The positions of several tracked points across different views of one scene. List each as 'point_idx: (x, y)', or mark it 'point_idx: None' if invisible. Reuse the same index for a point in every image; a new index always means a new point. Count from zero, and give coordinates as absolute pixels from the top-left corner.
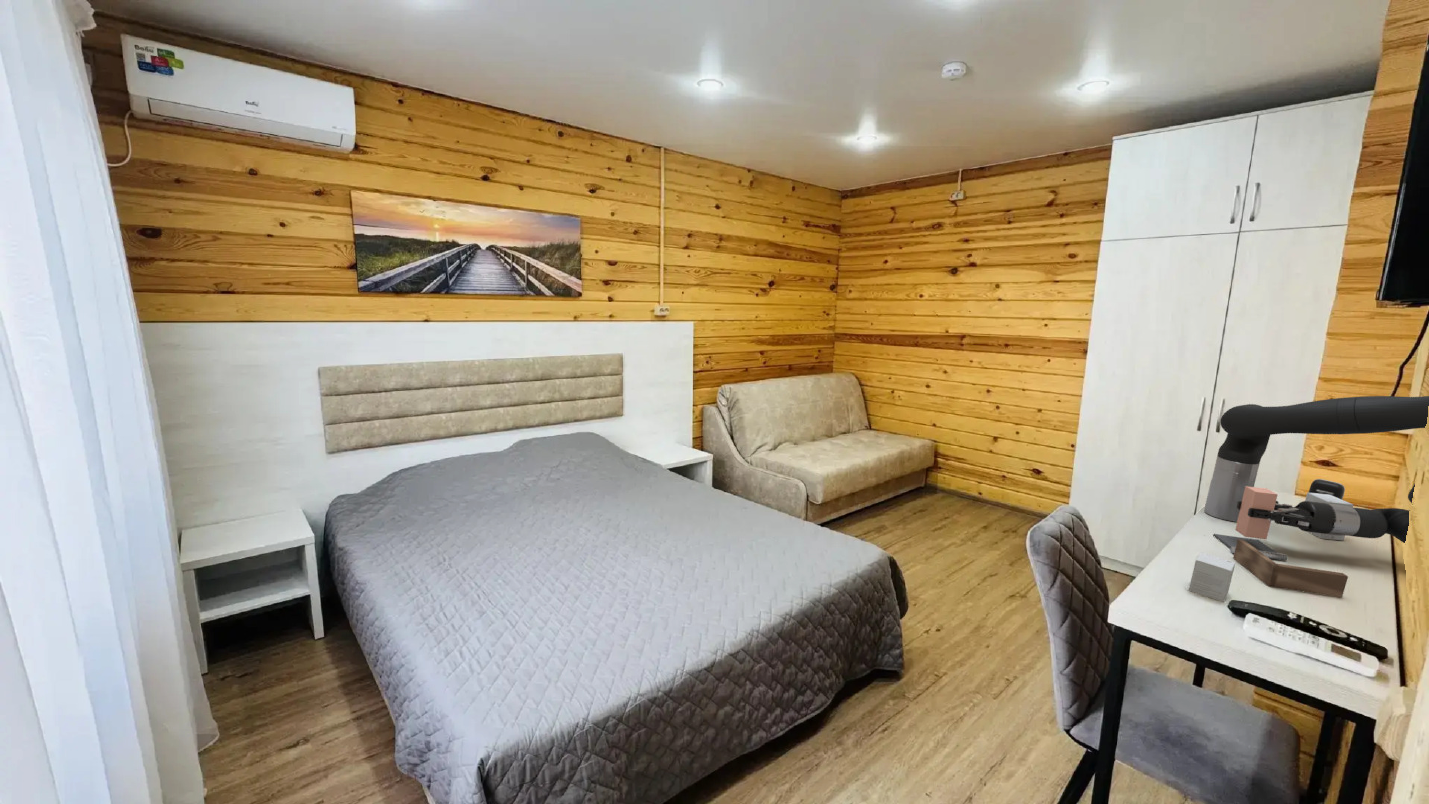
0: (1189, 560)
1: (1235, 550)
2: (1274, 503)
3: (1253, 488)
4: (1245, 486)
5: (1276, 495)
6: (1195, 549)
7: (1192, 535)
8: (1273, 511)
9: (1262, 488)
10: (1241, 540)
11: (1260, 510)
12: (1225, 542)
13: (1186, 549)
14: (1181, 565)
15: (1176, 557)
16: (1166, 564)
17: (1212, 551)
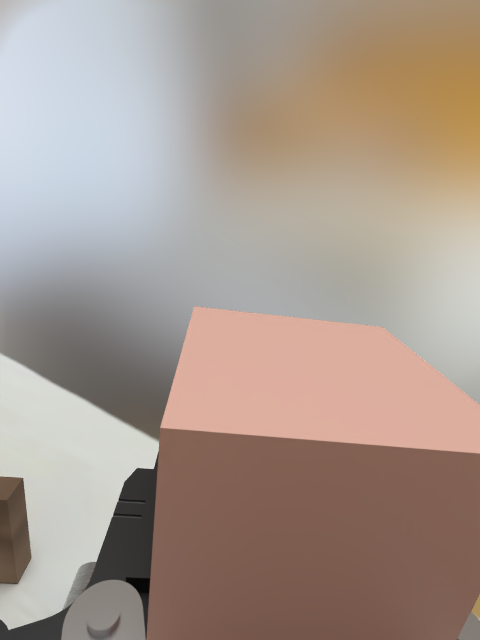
0: (30, 413)
1: (24, 526)
2: (152, 570)
3: (338, 336)
4: (380, 329)
5: (163, 442)
6: (118, 461)
7: None
8: (80, 616)
9: (454, 404)
10: (3, 486)
11: (145, 509)
12: None
13: (114, 438)
14: (2, 387)
15: (54, 397)
16: (15, 368)
17: (106, 508)
